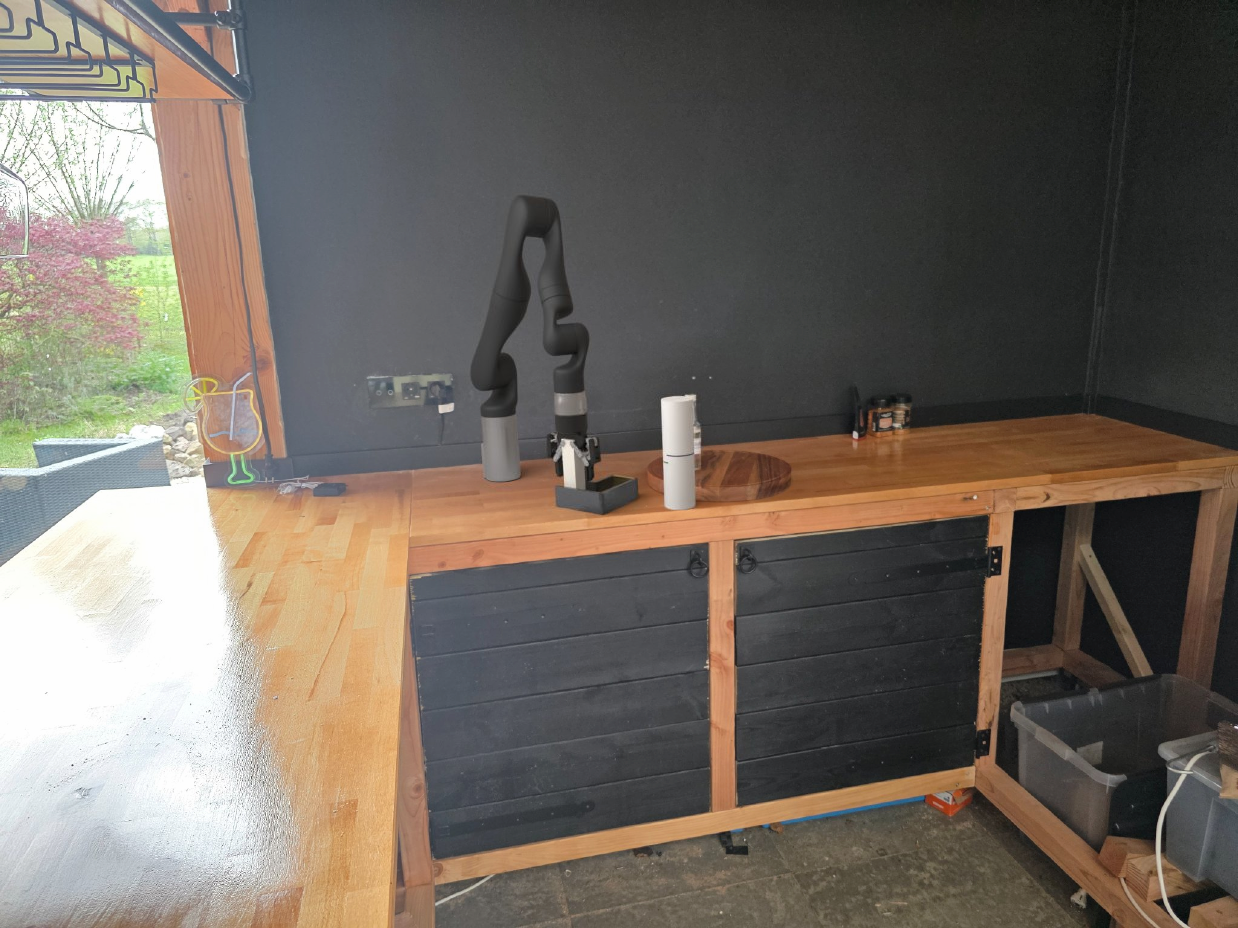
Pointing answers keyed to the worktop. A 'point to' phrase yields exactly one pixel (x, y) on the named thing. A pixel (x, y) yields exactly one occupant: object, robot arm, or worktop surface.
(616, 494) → the dark open tray
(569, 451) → the peg
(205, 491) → the worktop surface
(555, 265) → the robot arm
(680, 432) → the cylindrical container
